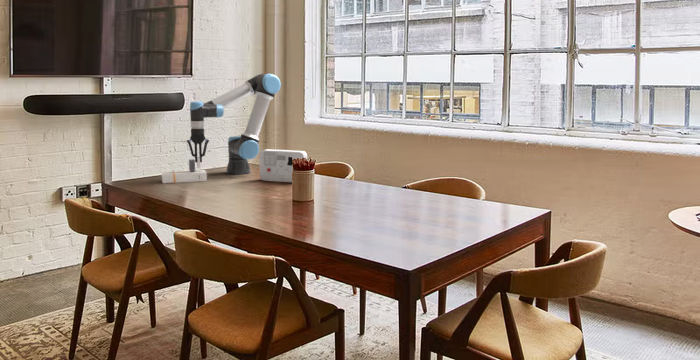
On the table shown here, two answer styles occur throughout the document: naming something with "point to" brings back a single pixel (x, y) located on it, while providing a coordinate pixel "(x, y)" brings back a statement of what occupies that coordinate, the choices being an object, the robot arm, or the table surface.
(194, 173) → the console
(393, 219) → the table surface
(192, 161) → the fader
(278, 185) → the table surface
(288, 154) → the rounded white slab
